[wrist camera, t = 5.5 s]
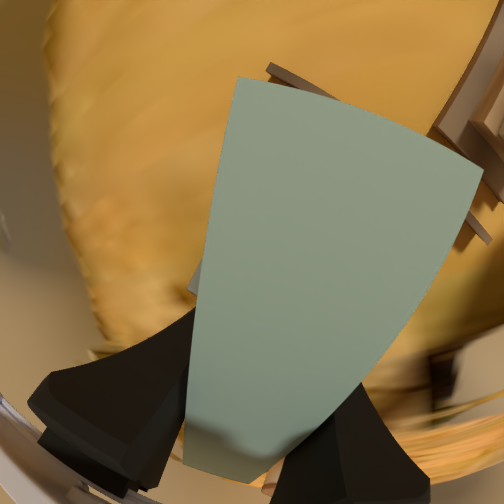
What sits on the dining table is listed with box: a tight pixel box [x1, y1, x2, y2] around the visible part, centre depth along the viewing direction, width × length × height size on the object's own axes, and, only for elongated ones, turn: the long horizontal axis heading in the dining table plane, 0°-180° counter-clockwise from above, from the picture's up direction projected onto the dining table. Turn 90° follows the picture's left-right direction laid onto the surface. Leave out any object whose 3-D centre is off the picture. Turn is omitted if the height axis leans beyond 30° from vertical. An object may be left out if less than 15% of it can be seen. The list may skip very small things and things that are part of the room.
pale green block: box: [183, 77, 484, 484], centre depth 9 cm, size 3×14×8 cm, turn 167°
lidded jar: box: [261, 457, 285, 497], centre depth 34 cm, size 11×11×9 cm
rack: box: [265, 0, 504, 245], centre depth 8 cm, size 18×23×2 cm
